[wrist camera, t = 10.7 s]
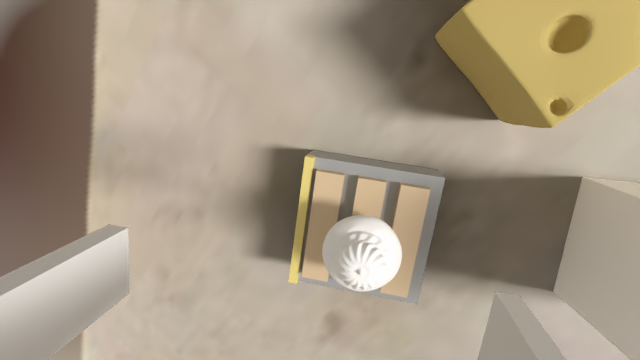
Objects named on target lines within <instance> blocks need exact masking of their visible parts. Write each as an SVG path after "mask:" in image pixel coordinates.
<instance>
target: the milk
mask: <svg viewBox="0 0 640 360" xmlns="http://www.w3.org/2000/svg"><path fill="white" fill-rule="evenodd" d="M553 292H554V293H555V294H557V295H558V296H559V297H560V298H561V299H562V300H563V301H564V302H566V303H567V304H568V305H569V306H570V307H571V308H572V309H574V310H575V311H576V312H577V313H578V314H579V315H580V316H582V317H583V318H584V319H585V320H586V321H587V322H588V323H590V324H591V325H592V326H593V327H594V328H595V329H596V330H597V331H599V332H600V333H601V334H602V335H603V336H604V337H605V338H607V339H608V340H609V341H610V342H611V343H612V344H613V345H615V346H616V347H617V348H618V349H619V350H620V351H621V352H623V353H624V354H625V355H626V356H627V357H628V358H629V359H630V360H640V183H637V182H627V181H618V180H608V179H599V178H589V177H582V181H581V185H580V189H579V192H578V196H577V200H576V204H575V208H574V212H573V216H572V220H571V224H570V228H569V232H568V235H567V239H566V243H565V247H564V251H563V255H562V259H561V263H560V267H559V271H558V275H557V279H556V282H555V286H554V290H553Z"/></svg>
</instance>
